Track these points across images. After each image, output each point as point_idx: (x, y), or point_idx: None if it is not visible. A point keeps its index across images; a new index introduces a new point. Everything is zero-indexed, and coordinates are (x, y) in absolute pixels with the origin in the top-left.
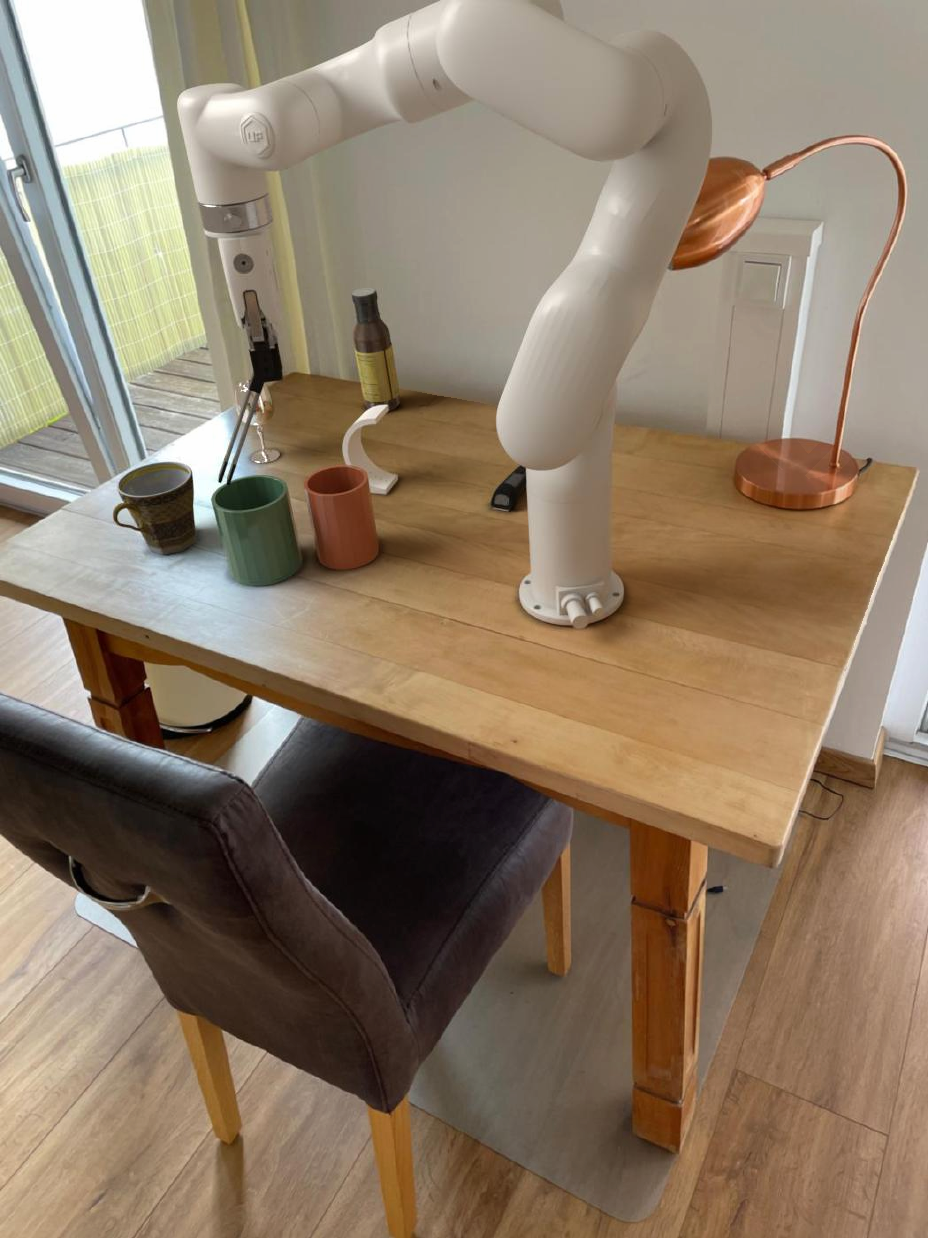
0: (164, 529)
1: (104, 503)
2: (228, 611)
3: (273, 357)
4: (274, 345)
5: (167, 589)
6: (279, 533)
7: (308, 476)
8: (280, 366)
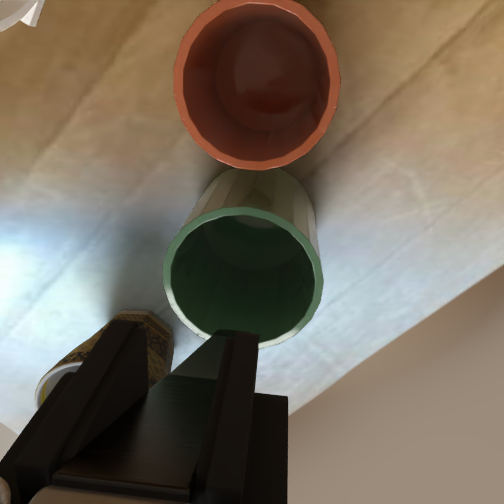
0: (168, 369)
1: (9, 408)
2: (358, 282)
3: (247, 454)
4: (194, 498)
5: (266, 350)
6: (309, 219)
7: (210, 153)
8: (252, 377)
